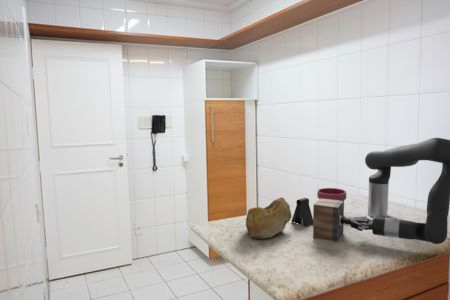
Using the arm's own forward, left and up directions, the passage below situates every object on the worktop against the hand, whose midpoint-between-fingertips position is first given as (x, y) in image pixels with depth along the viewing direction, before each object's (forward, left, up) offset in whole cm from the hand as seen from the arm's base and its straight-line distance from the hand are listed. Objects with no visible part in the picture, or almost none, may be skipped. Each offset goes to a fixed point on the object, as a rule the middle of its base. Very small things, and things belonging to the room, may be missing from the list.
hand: (341, 220), depth 140 cm
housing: (0, -5, -7) cm, 9 cm away
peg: (0, -5, -2) cm, 5 cm away
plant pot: (-31, -11, -8) cm, 34 cm away
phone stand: (-11, -20, -8) cm, 24 cm away
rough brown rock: (+9, -31, -8) cm, 33 cm away
